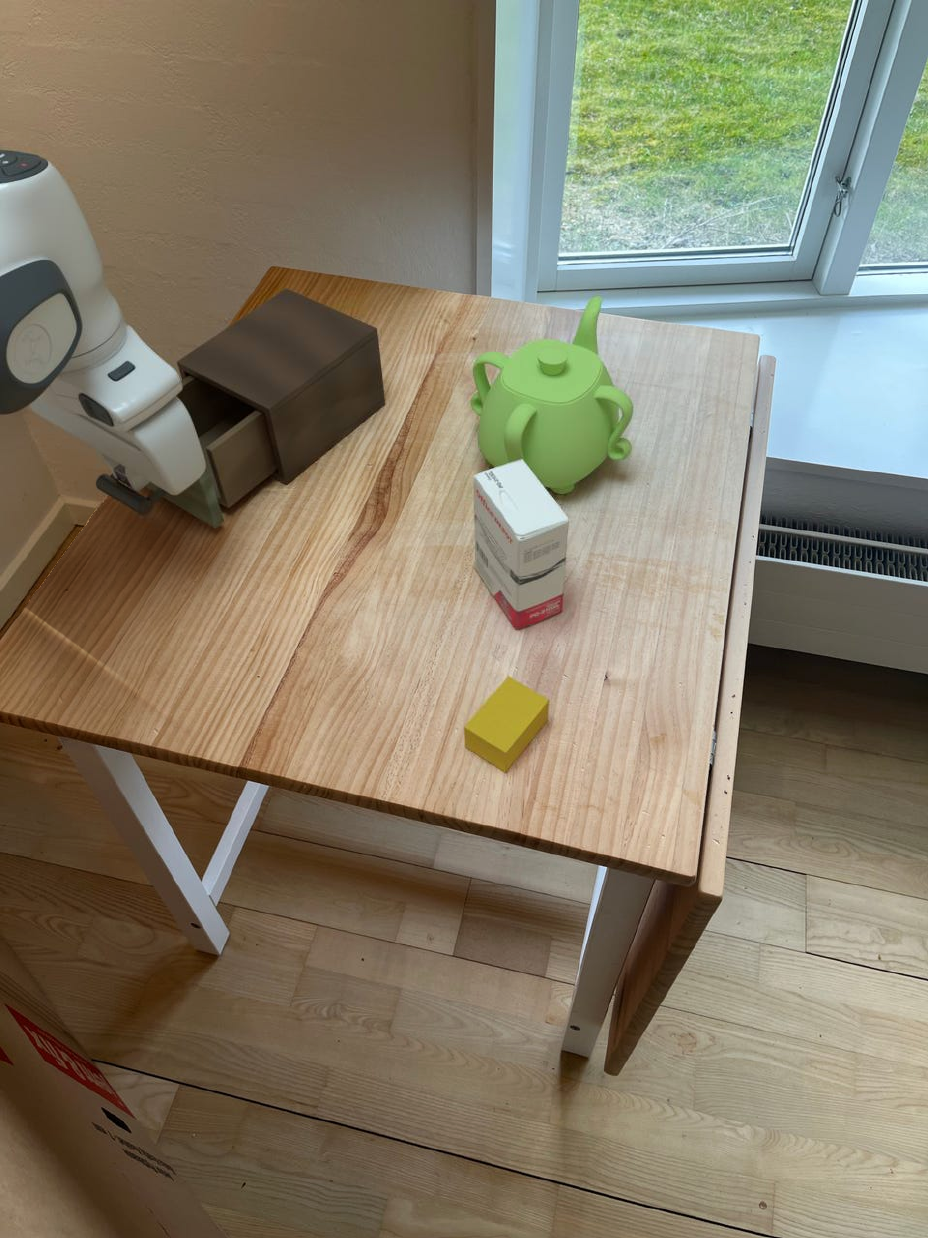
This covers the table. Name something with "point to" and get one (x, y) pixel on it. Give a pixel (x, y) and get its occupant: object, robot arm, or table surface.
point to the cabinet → (296, 374)
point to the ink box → (520, 543)
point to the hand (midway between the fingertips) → (133, 481)
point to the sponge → (506, 723)
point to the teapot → (552, 407)
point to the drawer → (212, 455)
